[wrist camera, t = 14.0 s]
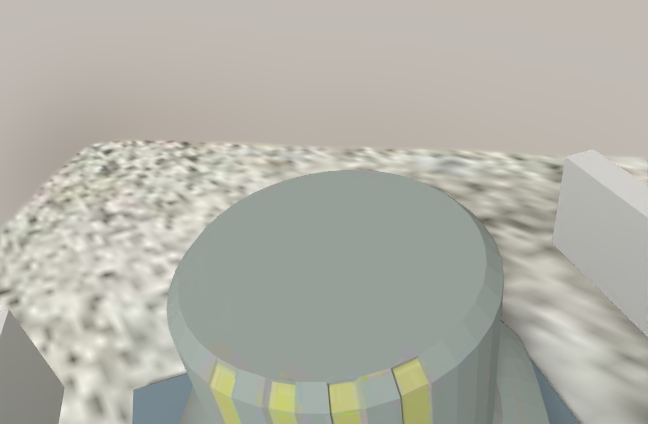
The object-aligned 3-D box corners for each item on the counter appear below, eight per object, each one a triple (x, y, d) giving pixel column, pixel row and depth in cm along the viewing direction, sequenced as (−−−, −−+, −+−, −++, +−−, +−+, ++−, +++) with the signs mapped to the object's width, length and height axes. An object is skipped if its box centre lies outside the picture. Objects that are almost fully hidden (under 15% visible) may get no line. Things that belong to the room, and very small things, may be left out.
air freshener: (584, 823, 10) (779, 685, 4) (177, 774, 11) (-110, 614, 5) (492, 356, 19) (514, 97, 13) (268, 358, 20) (194, 123, 14)
